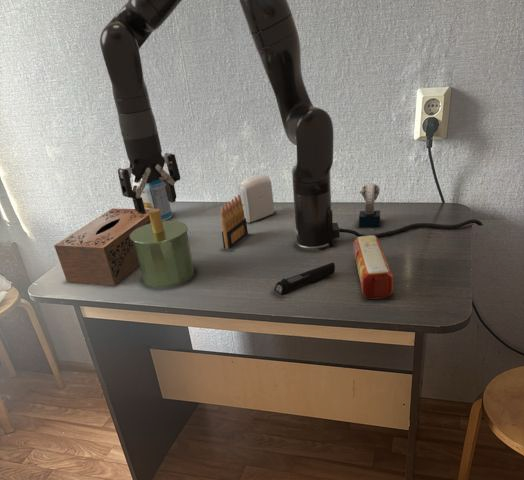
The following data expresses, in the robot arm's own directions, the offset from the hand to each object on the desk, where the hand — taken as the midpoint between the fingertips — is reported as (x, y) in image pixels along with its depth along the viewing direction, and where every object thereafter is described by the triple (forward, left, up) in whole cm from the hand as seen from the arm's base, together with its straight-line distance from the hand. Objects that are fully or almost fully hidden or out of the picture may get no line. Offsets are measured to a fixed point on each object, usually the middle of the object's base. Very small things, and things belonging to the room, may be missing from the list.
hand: (157, 207), depth 118 cm
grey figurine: (-52, -21, -18) cm, 59 cm away
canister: (+1, +1, -17) cm, 17 cm away
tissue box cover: (+17, -11, -18) cm, 27 cm away
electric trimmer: (-32, +11, -18) cm, 39 cm away
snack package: (-47, +11, -18) cm, 52 cm away
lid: (+1, +1, -6) cm, 6 cm away
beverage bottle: (+11, -43, -18) cm, 48 cm away
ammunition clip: (-15, -17, -18) cm, 29 cm away
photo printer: (-21, -35, -18) cm, 45 cm away
